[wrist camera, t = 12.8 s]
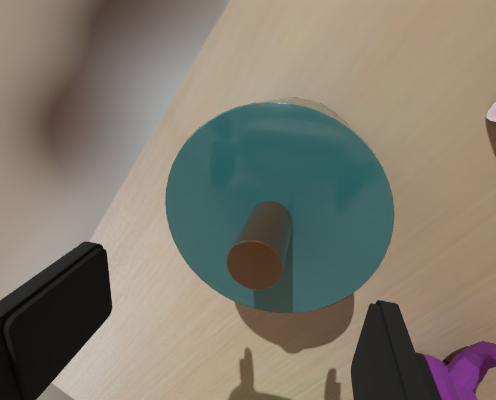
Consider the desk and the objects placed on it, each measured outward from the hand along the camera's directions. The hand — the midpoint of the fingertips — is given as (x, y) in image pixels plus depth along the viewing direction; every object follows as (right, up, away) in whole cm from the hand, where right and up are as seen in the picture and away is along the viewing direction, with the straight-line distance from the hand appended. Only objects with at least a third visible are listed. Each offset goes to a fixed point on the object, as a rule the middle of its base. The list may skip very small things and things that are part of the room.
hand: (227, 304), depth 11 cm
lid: (+2, +3, +7) cm, 7 cm away
